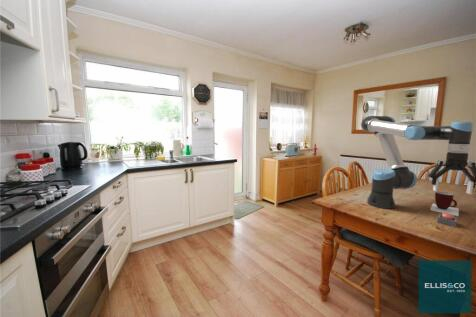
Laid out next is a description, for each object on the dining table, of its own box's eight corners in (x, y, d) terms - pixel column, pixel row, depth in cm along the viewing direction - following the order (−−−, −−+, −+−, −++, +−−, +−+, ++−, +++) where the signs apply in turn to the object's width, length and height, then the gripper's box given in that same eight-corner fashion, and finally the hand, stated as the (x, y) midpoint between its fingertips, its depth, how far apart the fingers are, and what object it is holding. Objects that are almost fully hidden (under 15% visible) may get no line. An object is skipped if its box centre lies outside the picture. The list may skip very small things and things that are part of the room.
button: (453, 221, 105) (453, 216, 105) (441, 218, 109) (441, 214, 108) (453, 219, 108) (454, 214, 108) (441, 216, 111) (442, 212, 111)
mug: (459, 211, 124) (462, 195, 122) (452, 213, 121) (455, 197, 119) (437, 205, 133) (439, 190, 132) (430, 207, 130) (432, 192, 129)
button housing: (455, 227, 104) (456, 221, 103) (437, 222, 109) (438, 217, 109) (456, 223, 108) (456, 217, 108) (438, 219, 113) (439, 213, 113)
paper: (458, 216, 117) (458, 215, 117) (430, 210, 126) (430, 209, 126) (458, 209, 128) (459, 208, 128) (432, 204, 137) (432, 203, 137)
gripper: (430, 151, 105) (425, 191, 108) (497, 154, 96) (489, 197, 99) (423, 150, 112) (418, 187, 115) (485, 152, 103) (478, 193, 106)
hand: (451, 192), depth 107 cm, fingers open, 13 cm apart
